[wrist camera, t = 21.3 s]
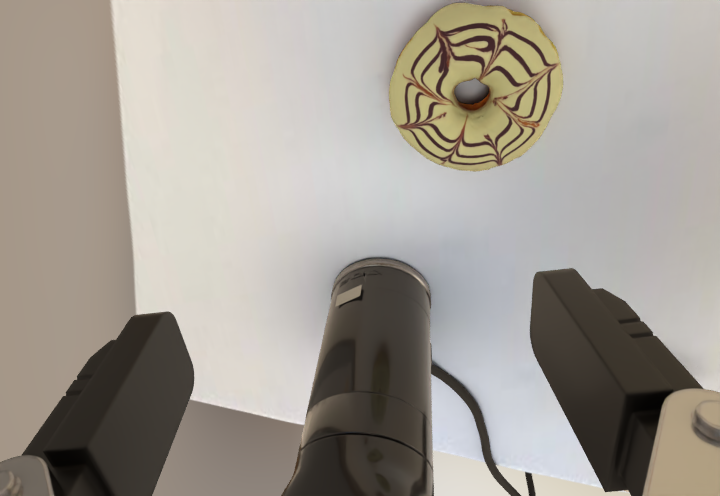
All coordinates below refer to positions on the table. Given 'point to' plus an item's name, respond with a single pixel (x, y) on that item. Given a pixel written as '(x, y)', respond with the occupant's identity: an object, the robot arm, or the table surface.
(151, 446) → the robot arm
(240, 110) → the table surface
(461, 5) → the decorated donut
